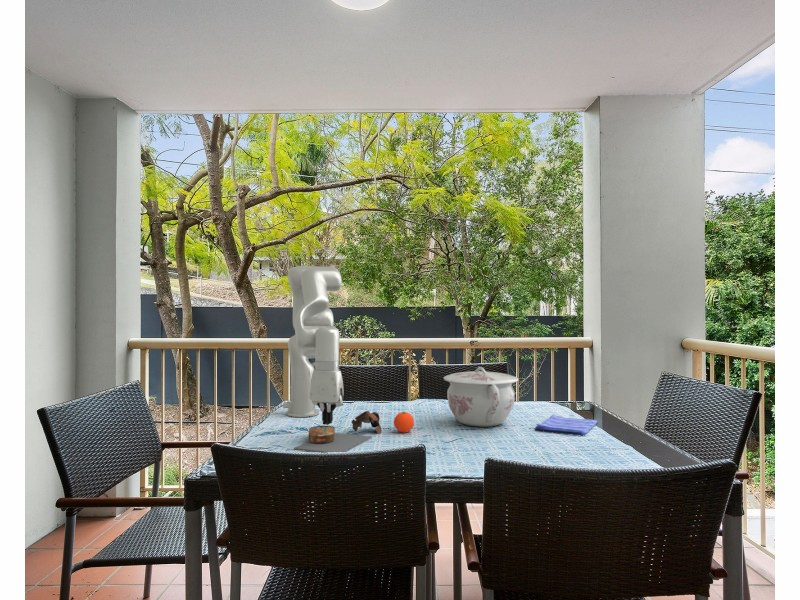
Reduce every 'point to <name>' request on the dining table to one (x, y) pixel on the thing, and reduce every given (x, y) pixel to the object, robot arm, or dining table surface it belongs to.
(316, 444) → the mat
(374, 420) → the pottery mug
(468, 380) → the chamber pot
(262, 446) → the dining table surface
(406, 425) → the clementine
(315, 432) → the tin
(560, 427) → the dish towel
